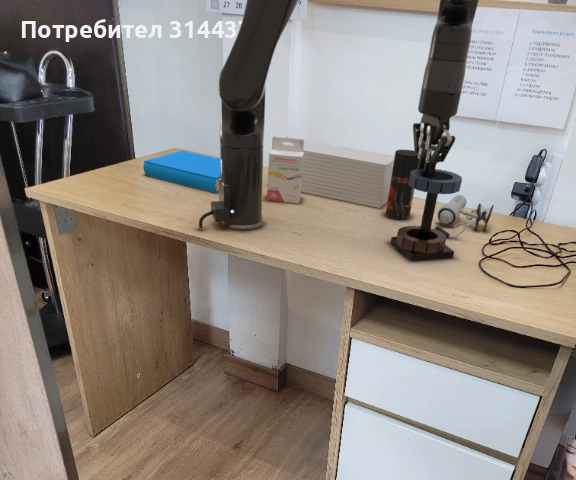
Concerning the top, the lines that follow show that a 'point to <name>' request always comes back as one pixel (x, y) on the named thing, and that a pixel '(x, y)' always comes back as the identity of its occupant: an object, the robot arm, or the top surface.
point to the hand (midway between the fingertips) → (424, 179)
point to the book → (186, 170)
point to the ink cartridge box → (285, 170)
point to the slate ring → (435, 182)
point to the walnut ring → (409, 241)
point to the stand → (425, 234)
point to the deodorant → (401, 185)
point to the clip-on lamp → (453, 209)
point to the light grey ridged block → (346, 173)
